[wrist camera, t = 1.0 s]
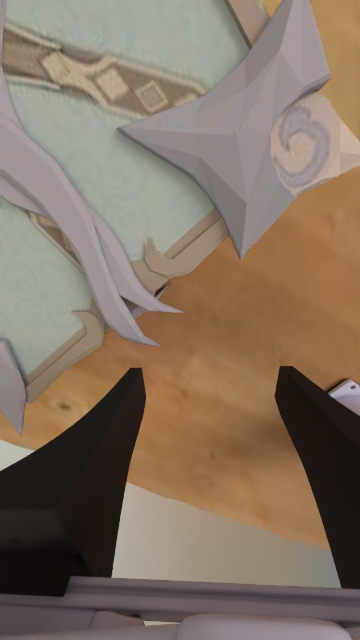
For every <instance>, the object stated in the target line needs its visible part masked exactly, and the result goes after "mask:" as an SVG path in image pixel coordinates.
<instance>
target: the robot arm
mask: <svg viewBox="0 0 360 640" xmlns="http://www.w3.org/2000/svg"><path fill="white" fill-rule="evenodd" d="M275 399H276V403H277V406H278V409H279V412H280V415H281V417H282V420H283V422H284V424H285V426H286V429H287V431H288V433H289V435H290V437H291V439H292V442H293V444H294V446H295V448H296V450H297V453H298V455H299V457H300V459H301V462H302V464H303V466H304V469H305V472H306V474H307V477H308V480H309V483H310V486H311V489H312V491H313V494H314V498H315V501H316V504H317V507H318V510H319V513H320V516H321V519H322V522H323V526H324V529H325V532H326V535H327V539H328V542H329V545H330V549H331V552H332V556H333V559H334V563H335V566H336V570H337V573H338V577H339V580H340V584H341V589H340V588H321V587H299V586H277V585H256V584H233V583H212V582H191V581H169V580H148V579H126V578H111V576H112V570H113V562H114V555H115V548H116V541H117V535H118V528H119V522H120V515H121V509H122V503H123V498H124V492H125V486H126V481H127V475H128V470H129V465H130V461H131V457H132V453H133V450H134V446H135V443H136V439H137V436H138V432H139V429H140V425H141V421H142V418H143V414H144V408H145V401H146V393H145V386H144V379H143V373H142V368H130V369H129V370H128V371H127V372H126V373H125V375H124V376H123V377H122V378H121V379H120V380H119V381H118V383H117V384H116V385H115V386H114V387H113V388H112V389H111V390H110V391H109V392H108V393H107V394H106V396H105V397H104V398H103V399H102V400H101V401H100V402H98V403H97V404H96V405H95V406H94V407H93V408H92V409H91V410H90V411H89V412H88V413H87V414H86V415H85V416H83V417H82V418H81V419H80V420H79V421H77V422H76V423H75V424H74V425H72V426H71V427H70V428H68V429H67V430H65V431H64V432H63V433H61V434H60V435H59V436H57V437H56V438H55V439H53V440H52V441H50V442H49V443H47V444H46V445H44V446H43V447H41V448H39V449H38V450H36V451H35V452H33V453H31V454H30V455H28V456H27V457H25V458H23V459H21V460H20V461H18V462H16V463H14V464H12V465H11V466H9V467H7V468H5V469H3V470H2V471H0V640H360V386H359V385H358V384H357V383H355V382H354V381H353V380H351V379H348V380H345V381H344V382H342V383H341V384H339V385H338V386H337V387H335V388H334V389H333V390H331V391H330V392H328V393H326V392H325V391H324V390H322V389H321V388H320V387H318V386H317V385H316V384H314V383H313V382H312V381H311V380H309V379H308V378H307V377H306V376H304V375H303V374H302V373H301V372H299V371H298V370H297V369H295V368H294V367H293V366H280V369H279V374H278V380H277V386H276V391H275ZM143 621H160V622H178V623H181V624H167V625H150V626H145V624H144V622H143Z"/></svg>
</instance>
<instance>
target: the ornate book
mask: <svg viewBox="0 0 360 640" xmlns="http://www.w3.org/2000/svg"><path fill="white" fill-rule="evenodd" d="M330 79H331V74H330V71H329V67H328V64H327V60H326V57H325V53H324V50H323V46H322V43H321V39H320V35H319V32H318V28H317V25H316V21H315V18H314V14H313V11H312V7H311V4H310V0H282V2H281V3H280V5H279V7H278V8H277V10H276V11H275V13H274V14H273V16H272V17H271V19H270V17H269V15H268V13H267V11H266V9H265V7H264V4H263V2H262V0H0V411H1V412H2V413H3V414H4V416H5V417H6V418H7V419H8V420H9V422H10V423H11V424H12V425H13V427H14V428H15V429H16V430H17V431H18V433H19V434H20V435H21V436H22V429H23V421H24V411H25V405H26V401H27V402H29V403H30V404H31V403H32V402H33V401H34V400H36V399H37V398H38V397H39V396H40V395H41V394H42V393H43V392H44V391H45V389H46V388H47V387H48V386H49V385H50V384H51V383H52V382H53V381H54V380H55V379H56V378H57V377H58V376H59V375H60V374H62V373H63V372H64V371H65V370H66V369H68V368H69V367H70V366H72V365H73V364H74V363H76V362H77V361H79V360H81V359H82V358H84V357H85V356H87V355H88V354H90V353H91V352H93V351H94V350H96V349H97V348H99V347H100V346H102V344H103V341H104V334H105V333H106V332H107V331H108V330H109V329H111V328H112V329H113V330H114V331H115V332H116V333H117V334H118V335H119V336H120V337H123V338H125V339H127V340H130V341H132V342H134V343H137V344H144V345H151V346H158V347H159V346H160V345H159V344H158V343H156V342H155V341H153V340H151V339H150V338H148V337H147V336H145V335H143V333H142V332H141V330H140V328H139V327H138V325H137V323H136V322H135V319H136V318H137V317H139V316H140V315H141V314H142V313H145V312H147V311H157V312H176V313H184V311H182V310H179V309H177V308H174V307H172V306H169V305H167V304H165V303H162V302H160V301H159V300H158V299H159V298H160V297H161V295H162V293H163V292H164V291H165V290H166V288H167V287H168V285H169V284H170V283H169V284H167V285H165V286H164V287H162V288H160V287H161V286H162V285H163V284H164V283H166V282H167V281H168V280H169V279H170V278H173V277H179V276H185V275H188V274H189V273H191V272H192V271H193V270H194V269H195V268H196V267H197V266H198V265H199V264H200V263H201V262H202V261H203V260H204V259H205V258H206V257H207V256H208V255H209V254H210V253H211V252H212V251H213V250H214V249H215V248H216V247H217V246H218V245H219V244H220V243H222V242H223V241H224V240H225V239H226V238H227V237H228V236H229V235H230V237H231V240H232V242H233V244H234V247H235V249H236V252H237V254H238V256H239V259H241V258H242V257H243V256H244V255H245V254H246V253H247V252H248V251H249V249H250V248H251V247H252V246H253V245H254V244H255V243H256V242H257V241H258V240H259V238H260V237H261V236H262V235H263V234H264V233H265V232H266V231H267V230H268V229H269V227H270V226H271V225H272V224H273V223H274V222H275V221H276V220H277V219H278V218H279V216H280V215H281V214H282V213H283V212H284V211H285V210H286V209H287V208H288V207H289V205H290V204H291V203H292V202H293V201H294V200H295V199H296V198H297V197H298V196H297V195H299V194H302V193H304V192H306V191H309V190H311V189H313V188H316V187H318V186H320V185H322V184H324V183H326V182H328V181H330V180H332V179H334V178H335V177H337V176H339V175H341V174H343V173H345V172H347V171H349V170H350V169H352V168H354V167H356V166H358V165H360V142H359V140H358V139H357V138H356V137H355V136H354V134H353V133H352V132H351V131H350V130H349V128H348V127H347V126H346V125H345V124H344V122H343V121H342V120H341V119H340V117H339V116H338V114H337V113H336V111H335V109H334V108H333V106H332V105H331V103H330V101H329V100H328V99H327V98H325V97H323V96H321V95H320V94H318V93H317V92H318V91H319V90H320V89H321V88H322V87H323V86H324V85H325V84H326V83H327V82H328V81H329V80H330ZM158 288H160V289H159V290H157V289H158ZM156 290H157V291H156Z"/></svg>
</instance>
